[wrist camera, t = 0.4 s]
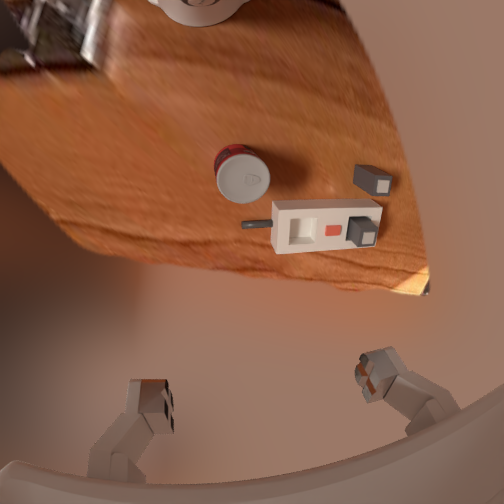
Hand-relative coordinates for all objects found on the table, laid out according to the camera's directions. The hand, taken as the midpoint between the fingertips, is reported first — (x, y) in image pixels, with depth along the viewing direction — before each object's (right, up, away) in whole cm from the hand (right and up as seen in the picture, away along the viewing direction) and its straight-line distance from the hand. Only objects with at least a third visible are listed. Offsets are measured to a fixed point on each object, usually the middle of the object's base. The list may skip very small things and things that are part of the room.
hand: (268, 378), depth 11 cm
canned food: (-4, +21, +41) cm, 46 cm away
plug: (+22, +21, +46) cm, 55 cm away
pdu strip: (+11, +12, +49) cm, 52 cm away
